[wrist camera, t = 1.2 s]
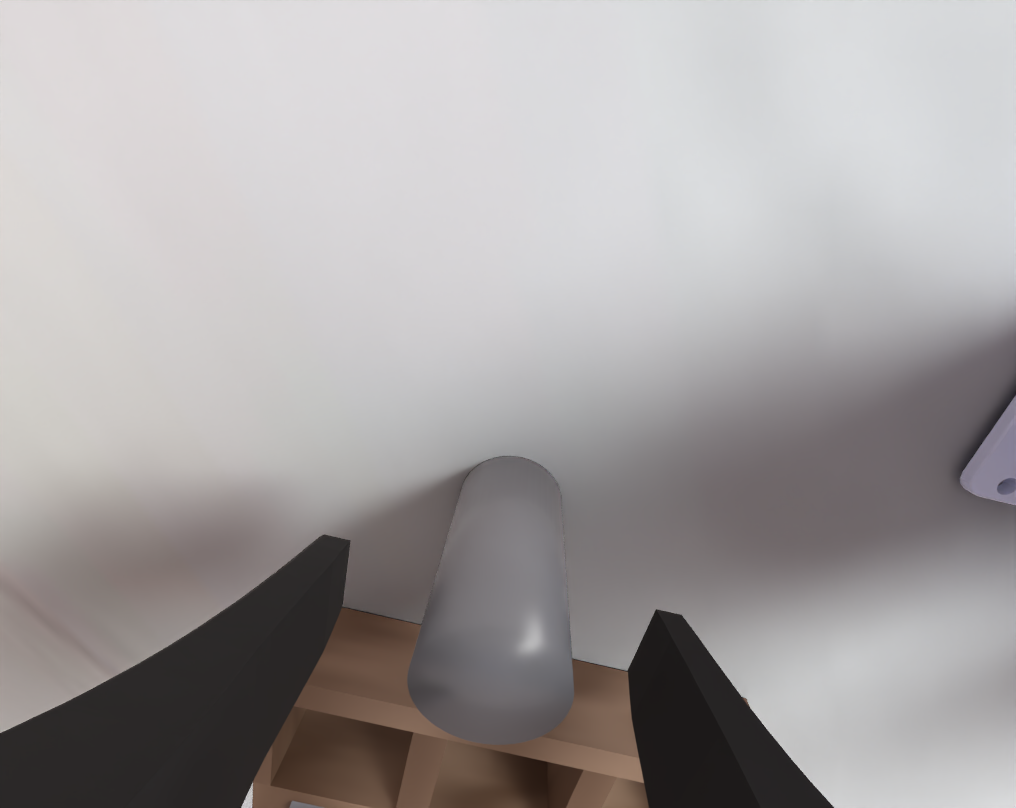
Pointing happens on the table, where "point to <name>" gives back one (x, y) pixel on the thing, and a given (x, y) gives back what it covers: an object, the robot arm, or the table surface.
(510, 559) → the peg
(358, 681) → the socket block
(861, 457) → the table surface
